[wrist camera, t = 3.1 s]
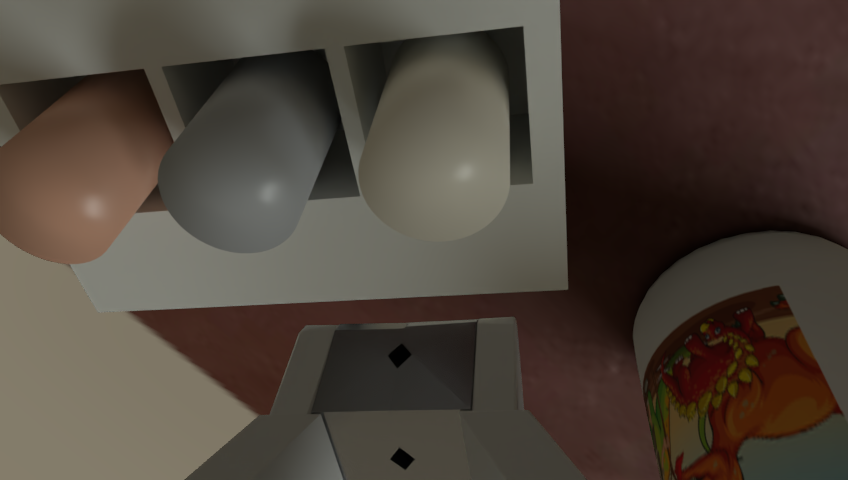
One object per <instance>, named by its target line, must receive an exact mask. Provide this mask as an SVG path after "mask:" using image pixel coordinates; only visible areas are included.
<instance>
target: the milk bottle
mask: <svg viewBox="0 0 848 480" xmlns="http://www.w3.org/2000/svg"><path fill="white" fill-rule="evenodd" d="M633 342H634V349H635V355H636V361H637V367H638V372H639V377H640V382H641V387H642V392H643V397H644V402H645V406H646V411H647V416H648V421H649V426H650V431H651V435H652V440H653V445H654V450H655V454H656V459H657V464H658V469H659V474H660V478H661V480H848V249H846V248H844V247H842V246H840V245H838V244H836V243H833V242H831V241H828V240H826V239H823V238H821V237H818V236H814V235H808V234H804V233H799V232H795V231H772V230H770V231H762V232H752V233H744V234H740V235H736V236H733V237H728V238H724V239H720V240H718V241H715V242H713V243H711V244H708V245H706V246H703V247H700V248H698V249H696V250H695V251H693V252H691V253H690V254H688V255H686V256H685V257H683V258H681V259H679V260H677V261H676V262H675V263H674V264H673V265H672V266H671V267H669V268H668V269H667V270H666V271H664V272H663V273H662V274H661V275H660V276H659V277H658V279H657V280H656V281H655V282H654V284H653V285H652V286H651V287H650V288H649V289H648V291H647V293H646V295H645V297H644V299H643V301H642V303H641V304H640V307H639V309H638V312H637V315H636V318H635V322H634V328H633Z"/></svg>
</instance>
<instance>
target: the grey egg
mask: <svg viewBox="0 0 848 480" xmlns="http://www.w3.org/2000/svg"><path fill="white" fill-rule="evenodd" d="M341 119H342V118H341V114H340V110H339V106H338V102H337V98H336V94H335V89H334V85H333V81H332V77H331V73H330V69H329V65H328V62H327V61H326V60H325V59H324V58H323V57H321V56H320V55H319V54H318V53H316V52H315V51H313V50H306V51H297V52H288V53H279V54H270V55H261V56H252V57H243V58H241V59H240V60H239V61H238V63H237V64H236V65H235V66H234V68H233V69H232V70H231V71H230V73H229V74H228V75H227V76H226V78H225V79H224V80H223V81H222V83H221V84H220V85H219V86H218V88H217V89H216V90H215V91H214V93H213V94H212V95H211V96H210V98H209V99H208V100H207V102H206V103H205V104H204V105H203V107H202V108H201V109H200V110H199V112H198V113H197V114H196V115H195V117H194V118H193V119H192V120H191V122H190V123H189V124H188V125H187V127H186V128H185V129H184V130H183V132H182V133H181V134H180V135H179V137H178V138H177V139H176V140H175V142H174V143H173V144H172V145H171V147H170V148H169V149H168V151H167V152H166V153H165V155H164V156H163V158H162V161H161V163H160V166H159V170H158V187H159V191H160V195H161V198H162V200H163V203H164V204H165V206H166V208H167V210H168V211H169V213H170V214H171V216H172V217H173V218H174V219H175V221H176V222H177V223H178V224H179V225H180V226H181V227H182V228H183V229H184V230H185V231H187V232H188V233H189V234H191V235H192V236H193V237H195V238H197V239H198V240H200V241H202V242H204V243H205V244H207V245H210V246H212V247H215V248H217V249H221V250H224V251H229V252H234V253H258V252H263V251H267V250H270V249H272V248H275V247H277V246H278V245H280V244H282V243H283V242H284V241H286V240H287V239H288V238H289V237H290V236H291V235H292V233H293V232H294V230H295V229H296V227H297V224H298V222H299V220H300V217H301V215H302V213H303V210H304V208H305V205H306V203H307V201H308V198H309V196H310V193H311V191H312V189H313V186H314V184H315V181H316V179H317V177H318V174H319V172H320V169H321V167H322V165H323V162H324V160H325V157H326V155H327V153H328V150H329V148H330V145H331V143H332V141H333V138H334V136H335V133H336V131H337V129H338V126H339V124H340V121H341Z"/></svg>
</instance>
